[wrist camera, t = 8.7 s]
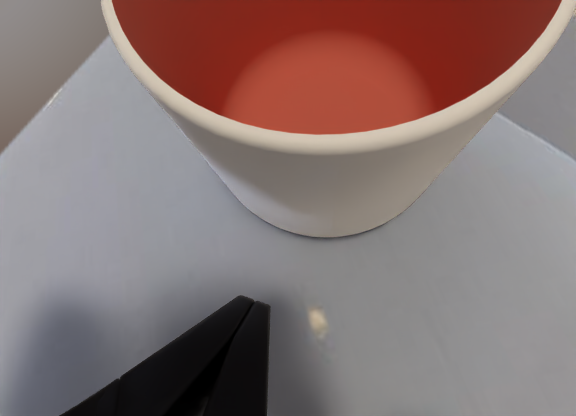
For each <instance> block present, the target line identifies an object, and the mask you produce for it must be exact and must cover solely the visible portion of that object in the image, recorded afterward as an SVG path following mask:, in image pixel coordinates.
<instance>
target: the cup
mask: <svg viewBox="0 0 576 416" xmlns="http://www.w3.org/2000/svg"><path fill="white" fill-rule="evenodd" d="M100 1H101V7H102V12H103V15H104V18H105V21H106V24H107V27H108V30H109V33H110V36H111V38H112V40H113V42H114V44H115V46H116V48H117V50H118V52H119V54H120V55H121V57H122V59H123V60H124V62H125V63H126V64H127V66H128V67H129V68H130V70H131V71H132V73H133V74H134V75H135V77H136V78H137V79H138V80H139V81H140V83H141V84H142V85H143V86H144V87H145V89H146V90H147V91H148V92H149V93H150V95H151V96H152V97H153V98H154V99H155V101H156V102H157V103H158V104H159V105H160V107H161V108H162V109H163V110H164V111H165V112H166V114H167V115H168V116H169V117H170V118H171V120H172V121H173V122H174V123H175V124H176V126H177V127H178V128H179V129H180V130H181V132H182V133H183V134H184V135H185V136H186V138H187V139H188V140H189V141H190V142H191V144H192V145H193V146H194V147H195V148H196V149H197V151H198V152H199V153H200V154H201V155H202V157H203V158H204V159H205V160H206V161H207V163H208V164H209V165H210V166H211V167H212V169H213V170H214V171H215V172H216V174H217V175H218V176H219V177H220V178H221V180H222V181H223V182H224V183H225V184H226V186H227V187H228V188H229V189H230V190H231V192H232V193H233V194H234V195H235V196H236V197H237V198H238V200H239V201H240V202H241V203H242V204H243V205H244V206H245V207H247V208H248V209H249V210H250V211H251V212H253V213H254V214H255V215H257V216H258V217H260V218H261V219H263V220H264V221H266V222H268V223H270V224H272V225H274V226H276V227H278V228H281V229H284V230H286V231H289V232H292V233H296V234H301V235H305V236H313V237H340V236H347V235H353V234H357V233H361V232H364V231H368V230H370V229H373V228H375V227H378V226H380V225H382V224H384V223H386V222H388V221H390V220H391V219H393V218H395V217H396V216H398V215H399V214H400V213H402V212H403V211H404V210H406V209H407V208H408V207H409V206H410V205H411V204H413V203H414V202H415V201H416V200H417V199H418V198H419V197H420V195H421V194H422V193H423V192H424V191H425V190H426V189H427V188H428V187H429V186H430V184H431V183H432V182H433V181H434V180H435V179H436V178H437V177H438V176H439V175H440V173H441V172H442V171H443V170H444V169H445V168H446V167H447V166H448V165H449V164H450V162H451V161H452V160H453V159H454V158H455V157H456V156H457V155H458V154H459V153H460V151H461V150H462V149H463V148H464V147H465V146H466V145H467V144H468V143H469V142H470V140H471V139H472V138H473V137H474V136H475V135H476V134H477V133H478V132H479V131H480V130H481V128H482V127H483V126H484V125H485V124H486V123H487V122H488V121H489V120H490V119H491V117H492V116H493V115H494V114H495V113H496V112H497V111H498V110H499V109H500V108H501V106H502V105H503V104H504V103H505V102H506V101H507V100H508V99H509V98H510V97H511V95H512V94H513V93H514V92H515V91H516V90H517V89H518V88H519V87H520V86H521V84H522V83H523V82H524V81H525V80H526V79H527V78H528V77H529V76H530V75H531V73H532V72H533V71H534V70H535V69H536V68H537V67H538V66H539V65H540V63H541V62H542V61H543V60H544V59H545V57H546V56H547V55H548V53H549V52H550V51H551V50H552V48H553V47H554V46H555V44H556V43H557V41H558V40H559V38H560V36H561V35H562V33H563V32H564V30H565V28H566V27H567V25H568V23H569V21H570V19H571V17H572V15H573V12H574V10H575V8H576V0H100Z"/></svg>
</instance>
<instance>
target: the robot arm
mask: <svg viewBox="0 0 576 416" xmlns="http://www.w3.org/2000/svg"><path fill="white" fill-rule="evenodd" d="M269 340H270V305H268V304H266V303H263V302H260V301H254V300H253V299H251V298H248V297H245V296H242V295H240V296H237V297H236V298H235V299H233V300H232V301H230V302H229V303H227V304H226V305H224V306H223V307H221V308H220V309H218V310H217V311H216V312H214V313H213V314H211V315H210V316H208V317H207V318H205V319H204V320H202V321H201V322H199V323H198V324H197V325H195V326H194V327H192V328H191V329H189V330H188V331H186V332H185V333H183V334H182V335H180V336H179V337H177V338H176V339H175V340H173V341H172V342H170V343H169V344H167V345H166V346H164V347H163V348H161V349H160V350H158V351H157V352H156V353H154V354H153V355H151V356H150V357H148V358H147V359H145V360H144V361H142V362H141V363H139V364H138V365H137V366H135V367H134V368H132V369H131V370H129V371H128V372H126V373H125V374H123V375H122V376H121V377H120V379H116V380H114V381H113V382H111V383H110V384H108V385H107V386H106V387H104V388H103V389H101V390H100V391H98V392H97V393H95V394H93V395H92V396H90V397H89V398H87V399H86V400H84V401H83V402H81V403H80V404H78V405H77V406H75V407H73V408H71V409H70V410H68V411H66V412H65V413H63V414H61V415H60V416H267V401H268V370H269Z"/></svg>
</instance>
